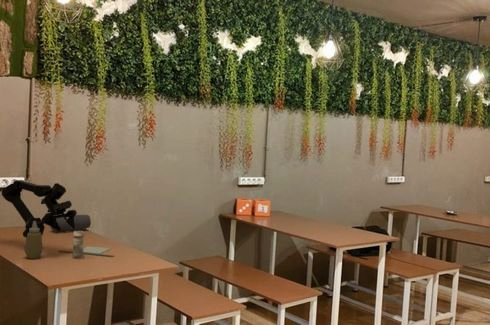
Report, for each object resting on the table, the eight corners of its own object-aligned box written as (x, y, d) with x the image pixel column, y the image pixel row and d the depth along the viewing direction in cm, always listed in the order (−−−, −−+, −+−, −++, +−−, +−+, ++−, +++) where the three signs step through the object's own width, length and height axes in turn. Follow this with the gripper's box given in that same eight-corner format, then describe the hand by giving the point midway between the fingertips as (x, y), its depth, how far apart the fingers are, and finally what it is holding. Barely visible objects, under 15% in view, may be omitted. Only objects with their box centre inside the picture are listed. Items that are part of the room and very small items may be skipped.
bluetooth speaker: (84, 228, 336) (84, 213, 336) (90, 230, 329) (91, 215, 329) (49, 231, 321) (50, 215, 320) (55, 234, 314) (56, 217, 314)
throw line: (58, 251, 270) (58, 251, 270) (60, 250, 272) (60, 250, 272) (112, 257, 265) (112, 256, 265) (114, 256, 267) (114, 255, 267)
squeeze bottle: (25, 260, 250) (26, 222, 249) (23, 256, 257) (25, 220, 256) (43, 259, 253) (44, 222, 252) (41, 255, 260) (42, 219, 260)
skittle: (74, 259, 256) (75, 232, 256) (71, 256, 261) (72, 231, 260) (84, 258, 259) (85, 232, 259) (81, 256, 264) (82, 230, 263)
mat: (99, 254, 269) (99, 253, 269) (76, 251, 271) (76, 251, 271) (110, 249, 282) (110, 248, 282) (88, 247, 284) (88, 246, 284)
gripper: (46, 197, 257) (61, 222, 252) (75, 194, 273) (90, 217, 268) (34, 211, 261) (49, 236, 256) (63, 207, 277) (78, 230, 273)
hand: (67, 229), depth 263 cm, fingers open, 9 cm apart
